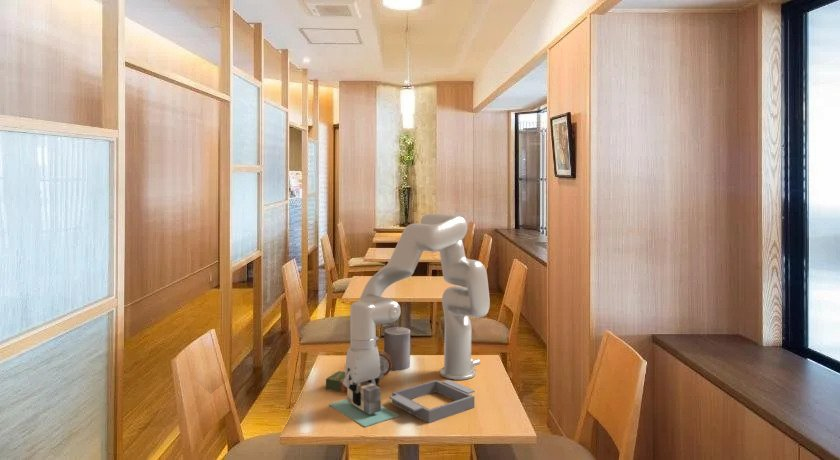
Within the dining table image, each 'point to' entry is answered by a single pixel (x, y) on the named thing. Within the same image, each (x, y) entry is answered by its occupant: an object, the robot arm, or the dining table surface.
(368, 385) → the block
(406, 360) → the pillar candle
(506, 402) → the dining table surface
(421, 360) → the dining table surface
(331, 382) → the carton
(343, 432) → the dining table surface
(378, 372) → the robot arm
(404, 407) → the open square frame
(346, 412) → the mat
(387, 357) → the tin
